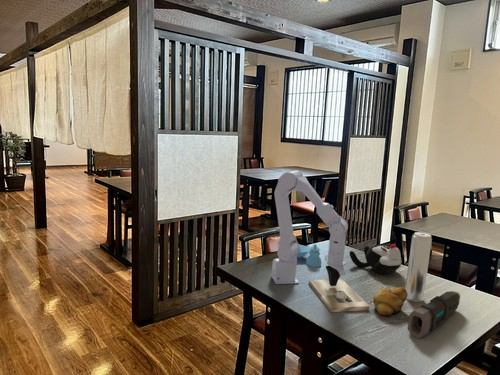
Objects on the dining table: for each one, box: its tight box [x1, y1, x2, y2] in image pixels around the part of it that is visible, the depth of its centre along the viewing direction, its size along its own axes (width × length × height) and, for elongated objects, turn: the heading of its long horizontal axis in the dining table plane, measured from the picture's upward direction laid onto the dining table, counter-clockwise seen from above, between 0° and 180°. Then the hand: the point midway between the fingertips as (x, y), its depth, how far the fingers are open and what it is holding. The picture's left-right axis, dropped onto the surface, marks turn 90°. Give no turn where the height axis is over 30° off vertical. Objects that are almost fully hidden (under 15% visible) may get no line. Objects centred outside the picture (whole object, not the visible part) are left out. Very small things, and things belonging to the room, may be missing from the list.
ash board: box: [308, 278, 370, 313], centre depth 133 cm, size 14×22×2 cm, turn 11°
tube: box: [407, 290, 461, 339], centre depth 118 cm, size 11×7×30 cm
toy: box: [349, 243, 402, 275], centre depth 160 cm, size 16×17×20 cm
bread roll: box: [372, 286, 408, 316], centre depth 124 cm, size 13×10×8 cm
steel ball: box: [335, 291, 347, 303], centre depth 129 cm, size 4×4×4 cm
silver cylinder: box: [404, 231, 433, 303], centre depth 133 cm, size 6×6×25 cm
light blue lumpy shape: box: [296, 244, 322, 268], centre depth 167 cm, size 18×10×9 cm, turn 37°
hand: (332, 285), depth 137 cm, fingers closed
